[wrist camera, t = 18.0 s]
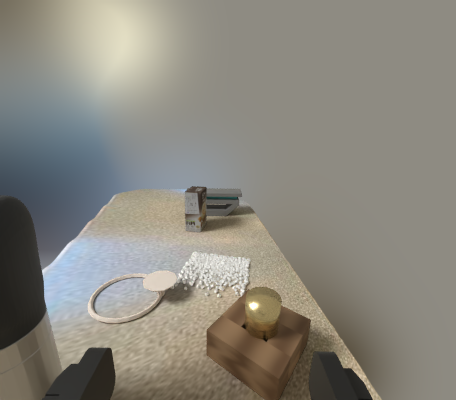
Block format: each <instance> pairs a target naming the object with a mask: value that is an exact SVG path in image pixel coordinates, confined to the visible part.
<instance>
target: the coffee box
mask: <svg viewBox="0 0 456 400" xmlns="http://www.w3.org/2000/svg"><path fill="white" fill-rule="evenodd" d="M206 197H207V188H206V187H193V186H192V187H191V188H189V189H188V190H187V191H185V219H186V231H193V232H201V231H202V229H203V228H204V226H205V225H206Z"/></svg>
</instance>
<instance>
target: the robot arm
mask: <svg viewBox="0 0 456 400" xmlns="http://www.w3.org/2000/svg"><path fill="white" fill-rule="evenodd" d="M114 385H115V369H114V362H113V356H112V350H111V348H89V349H88V350H87V351H86V352H85V354H84V356H83V357H82V359H81V361H80V362H79V364H71V365H70V366H68V367H67V368H66V369H65V370H64V371H62V367H61V363H60V359H59V355H58V351H57V347H56V343H55V339H54V335H53V331H52V327H51V324H50V320H49V316H48V312H47V308H46V304H45V300H44V281H43V275H42V270H41V265H40V259H39V254H38V247H37V241H36V234H35V229H34V224H33V221H32V218H31V215H30V213H29V211H28V210H27V208H26V206H25V205H24V204H23V203H22V202H21V201H20V200H18V199H17V198H14V197H11V196H0V400H110V398H111V396H112V393H113V390H114ZM309 390H310V395H311V399H312V400H373V399H372V397H371V395H370V393H369V391H368V390H367V388H366V386H365V384H364V382H363V381H362V380H361V379H360V378H359V377H358V376H357V375H356V373H355V372H354V371H353V370H352V369H351V368H343V367H342V365H341V363H340V361H339V359H338V357H337V355H336V354H335V353H334V352H314V353H313V358H312V364H311V369H310V375H309Z"/></svg>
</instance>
